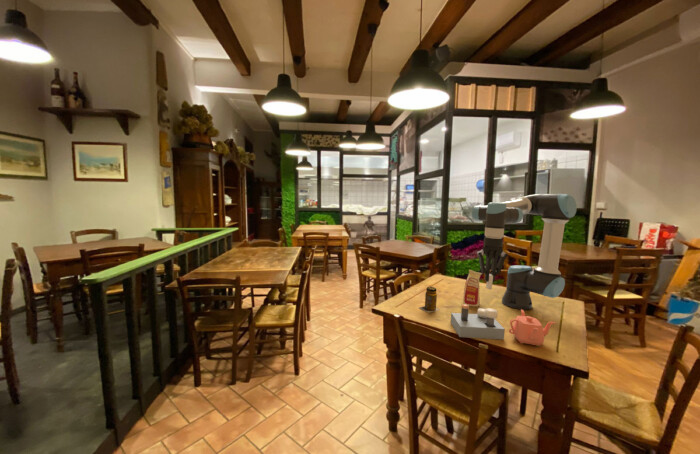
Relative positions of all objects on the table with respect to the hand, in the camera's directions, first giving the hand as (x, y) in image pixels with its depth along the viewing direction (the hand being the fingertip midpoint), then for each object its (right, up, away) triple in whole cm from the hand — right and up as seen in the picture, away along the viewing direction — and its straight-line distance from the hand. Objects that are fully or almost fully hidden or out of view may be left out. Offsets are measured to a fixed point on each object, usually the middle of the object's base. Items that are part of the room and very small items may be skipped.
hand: (488, 288), depth 124 cm
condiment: (-19, -18, +27) cm, 38 cm away
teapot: (+16, -22, -5) cm, 28 cm away
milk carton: (+8, -17, +37) cm, 41 cm away
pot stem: (-10, -16, +4) cm, 19 cm away
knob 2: (0, -17, -1) cm, 17 cm away
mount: (-4, -21, +4) cm, 21 cm away
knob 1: (0, -19, +7) cm, 21 cm away
